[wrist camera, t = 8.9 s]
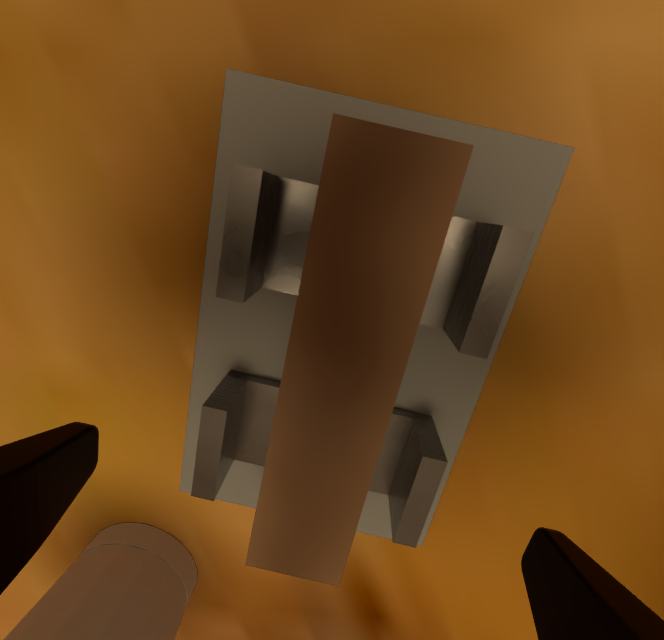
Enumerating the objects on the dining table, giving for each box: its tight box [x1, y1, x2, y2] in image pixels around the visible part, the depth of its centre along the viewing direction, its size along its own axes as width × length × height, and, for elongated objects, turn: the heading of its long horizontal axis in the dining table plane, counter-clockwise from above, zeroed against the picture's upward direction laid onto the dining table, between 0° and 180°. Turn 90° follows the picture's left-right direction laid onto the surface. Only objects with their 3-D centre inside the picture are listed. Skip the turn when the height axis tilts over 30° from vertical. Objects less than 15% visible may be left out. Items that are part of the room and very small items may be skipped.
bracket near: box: [215, 163, 535, 359], centre depth 13 cm, size 9×4×3 cm, turn 78°
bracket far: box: [191, 369, 448, 547], centre depth 15 cm, size 9×4×3 cm, turn 78°
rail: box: [245, 113, 474, 587], centre depth 13 cm, size 4×15×4 cm, turn 168°
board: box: [180, 68, 575, 546], centre depth 16 cm, size 12×18×1 cm, turn 168°
